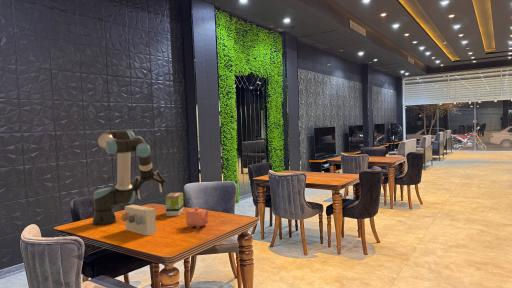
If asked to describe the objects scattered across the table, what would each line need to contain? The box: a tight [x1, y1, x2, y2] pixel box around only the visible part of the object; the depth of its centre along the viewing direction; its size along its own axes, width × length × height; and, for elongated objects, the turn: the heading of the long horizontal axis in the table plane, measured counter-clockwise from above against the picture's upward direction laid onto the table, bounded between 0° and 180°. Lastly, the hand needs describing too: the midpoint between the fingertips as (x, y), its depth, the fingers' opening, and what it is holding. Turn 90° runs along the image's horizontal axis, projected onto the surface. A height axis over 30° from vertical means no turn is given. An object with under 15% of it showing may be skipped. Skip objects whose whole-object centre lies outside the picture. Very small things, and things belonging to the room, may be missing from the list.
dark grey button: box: [136, 217, 142, 225], centre depth 214 cm, size 4×2×4 cm, turn 50°
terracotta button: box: [120, 213, 128, 222], centre depth 224 cm, size 4×2×4 cm, turn 50°
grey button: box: [128, 215, 135, 223], centre depth 219 cm, size 4×2×4 cm, turn 50°
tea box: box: [165, 192, 185, 217], centre depth 268 cm, size 15×10×15 cm, turn 179°
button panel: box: [124, 204, 157, 237], centre depth 223 cm, size 24×6×15 cm, turn 50°
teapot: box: [185, 207, 210, 230], centre depth 229 cm, size 20×12×12 cm, turn 58°
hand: (150, 194), depth 224 cm, fingers open, 13 cm apart
